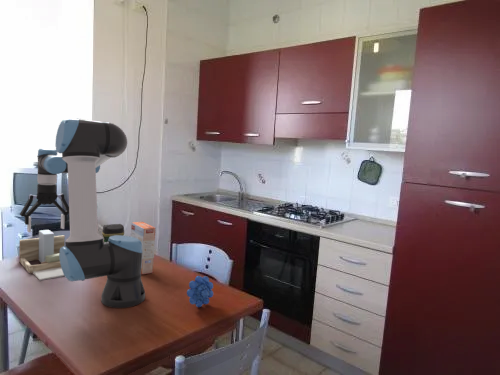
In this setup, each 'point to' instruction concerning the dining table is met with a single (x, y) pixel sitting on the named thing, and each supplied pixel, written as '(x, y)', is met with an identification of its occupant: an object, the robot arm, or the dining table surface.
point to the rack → (31, 252)
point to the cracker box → (145, 244)
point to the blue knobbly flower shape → (200, 291)
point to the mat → (49, 273)
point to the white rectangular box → (45, 244)
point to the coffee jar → (112, 231)
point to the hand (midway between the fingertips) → (46, 230)
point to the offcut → (52, 258)
